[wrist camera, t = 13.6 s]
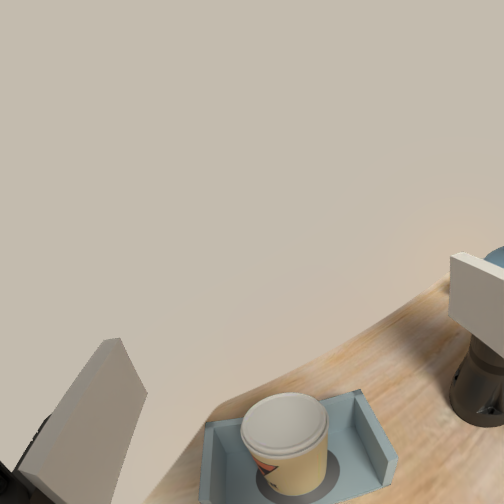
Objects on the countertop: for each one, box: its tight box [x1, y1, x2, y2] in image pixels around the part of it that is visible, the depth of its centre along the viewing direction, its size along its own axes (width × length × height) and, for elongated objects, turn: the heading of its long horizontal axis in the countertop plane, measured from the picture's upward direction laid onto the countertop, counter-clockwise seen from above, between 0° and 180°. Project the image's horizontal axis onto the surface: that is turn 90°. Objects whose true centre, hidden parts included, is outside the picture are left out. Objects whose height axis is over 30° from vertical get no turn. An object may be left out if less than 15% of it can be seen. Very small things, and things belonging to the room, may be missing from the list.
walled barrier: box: [198, 389, 398, 504], centre depth 29 cm, size 21×13×7 cm, turn 93°
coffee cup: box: [240, 392, 329, 496], centre depth 28 cm, size 9×9×12 cm
